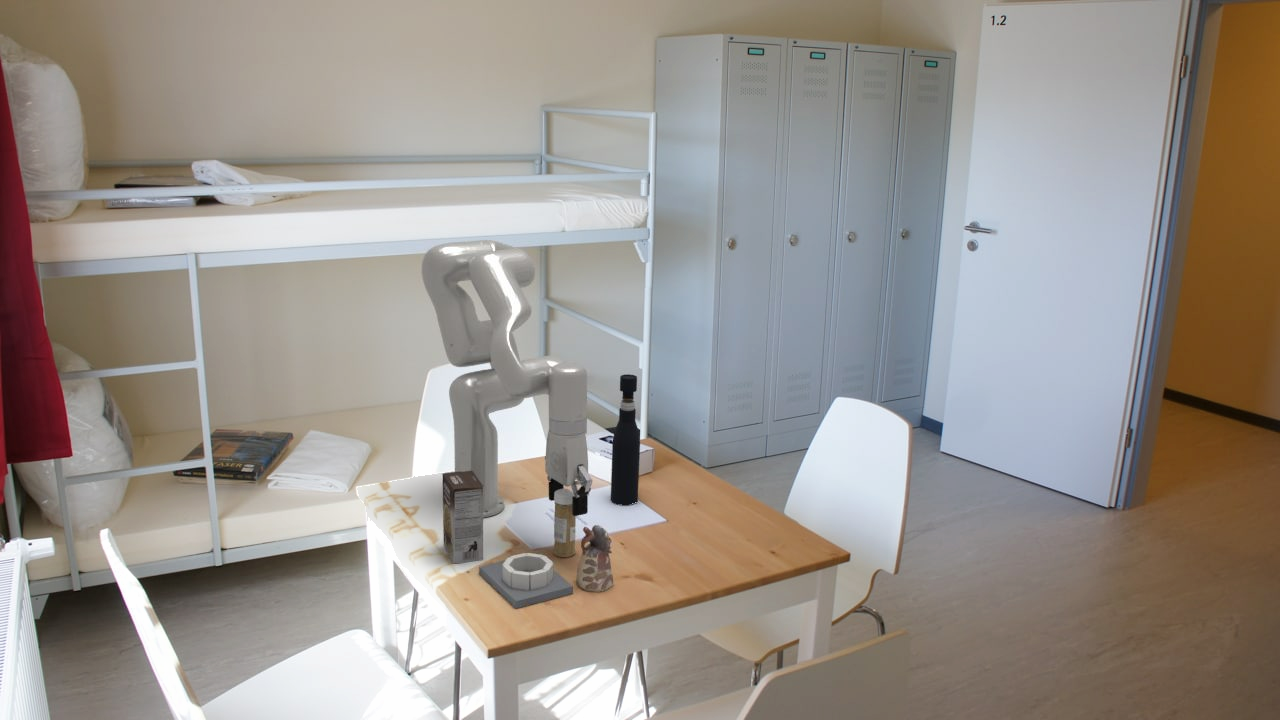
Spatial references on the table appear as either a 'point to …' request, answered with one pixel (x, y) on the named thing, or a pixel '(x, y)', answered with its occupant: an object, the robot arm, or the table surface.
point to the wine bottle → (626, 447)
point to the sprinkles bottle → (564, 523)
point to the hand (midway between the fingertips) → (567, 506)
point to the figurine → (595, 561)
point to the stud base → (524, 594)
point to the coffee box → (463, 516)
